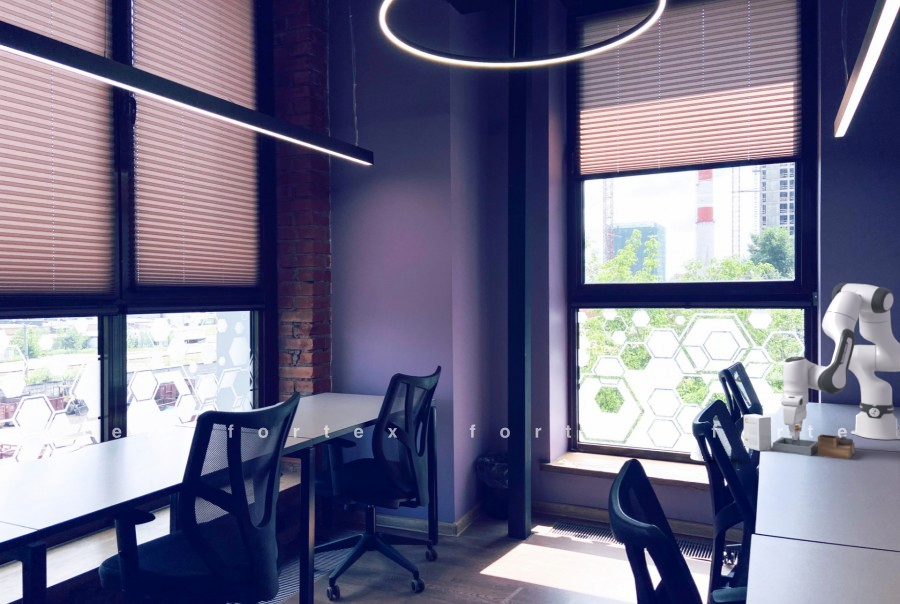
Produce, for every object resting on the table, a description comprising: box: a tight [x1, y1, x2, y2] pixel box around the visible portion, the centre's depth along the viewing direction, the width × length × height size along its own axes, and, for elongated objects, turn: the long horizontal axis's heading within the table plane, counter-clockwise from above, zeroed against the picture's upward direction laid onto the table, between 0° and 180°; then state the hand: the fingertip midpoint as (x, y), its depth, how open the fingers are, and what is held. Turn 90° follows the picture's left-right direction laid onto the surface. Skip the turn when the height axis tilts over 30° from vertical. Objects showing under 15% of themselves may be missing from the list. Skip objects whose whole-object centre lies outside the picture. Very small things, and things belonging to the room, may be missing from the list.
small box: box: [743, 413, 772, 452], centre depth 259 cm, size 8×6×13 cm
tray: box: [772, 436, 818, 457], centre depth 255 cm, size 13×13×3 cm
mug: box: [690, 428, 705, 462], centre depth 243 cm, size 12×8×12 cm
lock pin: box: [791, 425, 801, 446], centre depth 255 cm, size 3×3×9 cm
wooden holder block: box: [817, 433, 855, 460], centre depth 248 cm, size 12×10×7 cm
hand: (795, 433), depth 255 cm, fingers open, 8 cm apart
